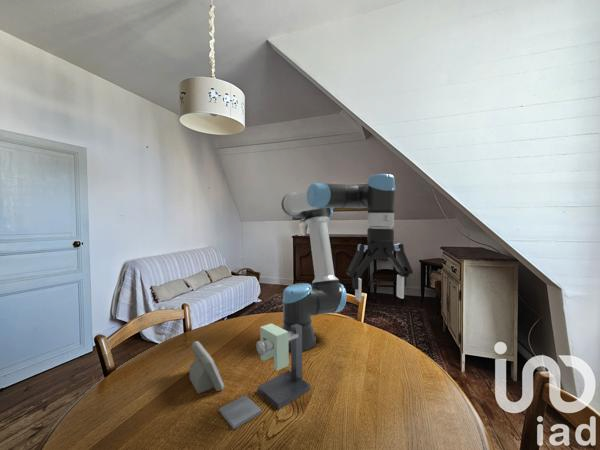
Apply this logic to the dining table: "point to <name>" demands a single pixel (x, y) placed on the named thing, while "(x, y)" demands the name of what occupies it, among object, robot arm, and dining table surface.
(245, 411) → the coaster
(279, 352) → the bracket
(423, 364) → the dining table surface
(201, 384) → the digital clock
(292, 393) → the stand
